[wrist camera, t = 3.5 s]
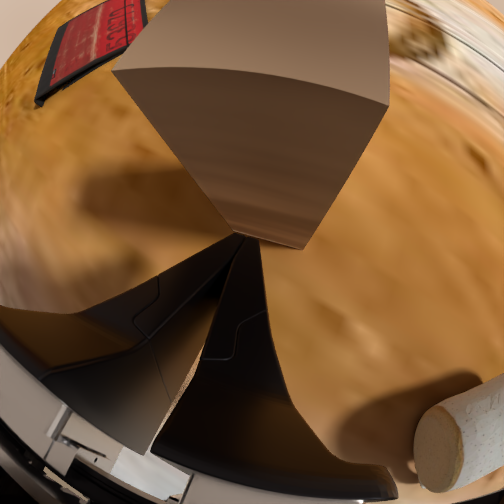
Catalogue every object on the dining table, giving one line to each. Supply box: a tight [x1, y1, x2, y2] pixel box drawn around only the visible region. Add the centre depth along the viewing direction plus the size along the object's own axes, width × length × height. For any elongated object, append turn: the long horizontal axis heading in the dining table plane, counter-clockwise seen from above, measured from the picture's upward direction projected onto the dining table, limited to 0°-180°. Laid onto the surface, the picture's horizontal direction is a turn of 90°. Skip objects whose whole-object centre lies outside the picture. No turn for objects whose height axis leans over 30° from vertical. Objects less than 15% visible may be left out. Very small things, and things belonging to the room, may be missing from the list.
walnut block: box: [111, 0, 390, 250], centre depth 10 cm, size 4×4×14 cm
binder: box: [34, 0, 148, 107], centre depth 23 cm, size 16×2×21 cm
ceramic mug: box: [413, 373, 504, 493], centre depth 10 cm, size 11×8×8 cm
